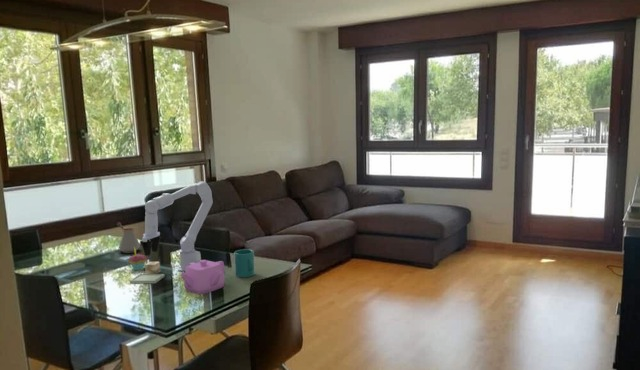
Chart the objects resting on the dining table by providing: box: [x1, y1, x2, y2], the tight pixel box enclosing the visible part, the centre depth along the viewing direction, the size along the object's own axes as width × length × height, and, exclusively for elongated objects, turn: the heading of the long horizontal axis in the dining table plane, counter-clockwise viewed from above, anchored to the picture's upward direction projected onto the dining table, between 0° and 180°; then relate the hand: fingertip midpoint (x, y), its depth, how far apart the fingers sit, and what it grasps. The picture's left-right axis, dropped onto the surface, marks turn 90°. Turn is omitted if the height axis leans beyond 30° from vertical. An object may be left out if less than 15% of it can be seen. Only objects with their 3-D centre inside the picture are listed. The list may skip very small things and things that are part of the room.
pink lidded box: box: [180, 259, 226, 296], centre depth 204 cm, size 17×17×12 cm
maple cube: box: [144, 261, 161, 274], centre depth 228 cm, size 5×5×5 cm
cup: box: [233, 248, 256, 279], centre depth 220 cm, size 9×12×11 cm
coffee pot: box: [117, 221, 141, 254], centre depth 273 cm, size 21×12×15 cm, turn 42°
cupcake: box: [128, 247, 148, 271], centre depth 235 cm, size 9×8×12 cm
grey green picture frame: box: [129, 273, 166, 284], centre depth 218 cm, size 12×10×1 cm
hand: (151, 253), depth 227 cm, fingers open, 7 cm apart
